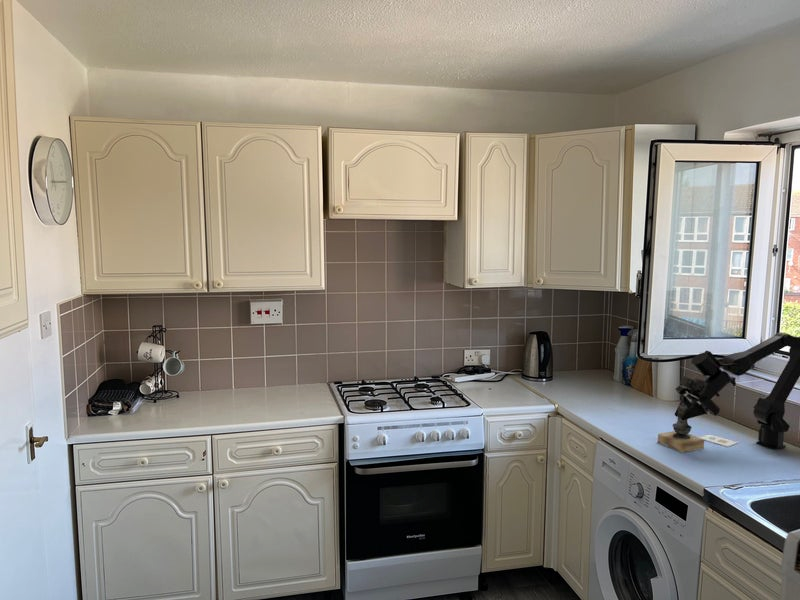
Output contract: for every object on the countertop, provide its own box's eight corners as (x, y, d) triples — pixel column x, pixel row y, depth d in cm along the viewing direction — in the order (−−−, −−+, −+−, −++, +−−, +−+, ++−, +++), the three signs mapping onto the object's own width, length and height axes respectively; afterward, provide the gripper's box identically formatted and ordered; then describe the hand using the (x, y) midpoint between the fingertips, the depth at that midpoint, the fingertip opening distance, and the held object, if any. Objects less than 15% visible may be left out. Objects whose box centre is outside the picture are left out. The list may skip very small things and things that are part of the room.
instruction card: (738, 443, 198) (738, 442, 198) (727, 447, 194) (727, 446, 194) (708, 434, 206) (708, 433, 206) (698, 438, 202) (698, 437, 202)
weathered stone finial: (670, 432, 199) (672, 398, 198) (689, 434, 197) (691, 400, 196) (673, 438, 193) (675, 403, 192) (692, 440, 192) (694, 405, 190)
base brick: (703, 448, 193) (704, 439, 193) (682, 452, 189) (683, 443, 189) (678, 438, 202) (678, 430, 202) (657, 442, 198) (658, 433, 198)
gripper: (682, 362, 202) (649, 393, 203) (713, 375, 184) (677, 409, 184) (702, 384, 203) (670, 415, 204) (735, 399, 185) (699, 433, 186)
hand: (678, 417), depth 194 cm, fingers closed on weathered stone finial, 4 cm apart
